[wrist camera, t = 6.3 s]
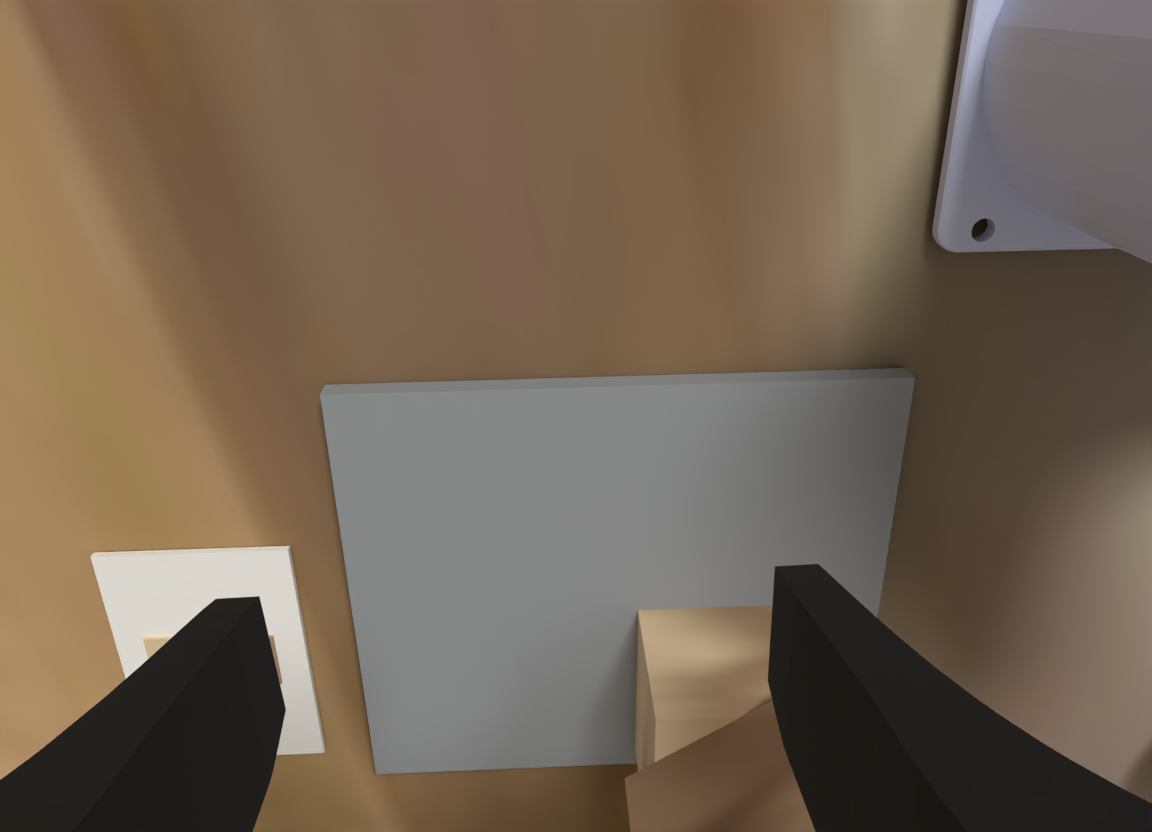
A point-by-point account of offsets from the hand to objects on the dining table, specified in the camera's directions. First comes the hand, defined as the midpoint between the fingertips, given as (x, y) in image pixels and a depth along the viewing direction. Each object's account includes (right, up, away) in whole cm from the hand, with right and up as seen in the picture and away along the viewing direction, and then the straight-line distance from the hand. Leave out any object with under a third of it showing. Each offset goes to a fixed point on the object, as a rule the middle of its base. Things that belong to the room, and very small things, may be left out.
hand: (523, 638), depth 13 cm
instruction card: (-9, -3, +12) cm, 16 cm away
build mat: (+2, -1, +12) cm, 12 cm away
